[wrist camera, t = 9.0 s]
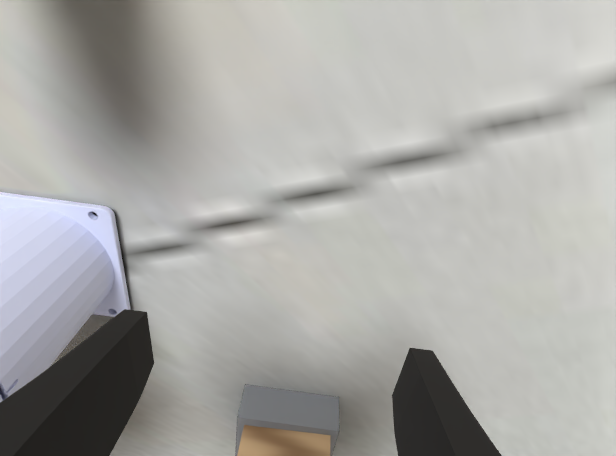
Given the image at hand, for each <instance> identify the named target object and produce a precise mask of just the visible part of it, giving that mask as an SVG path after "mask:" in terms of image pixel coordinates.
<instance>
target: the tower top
mask: <svg viewBox="0 0 616 456" xmlns="http://www.w3.org/2000/svg"><path fill="white" fill-rule="evenodd" d="M237 456H330V435H324V434H316V433H308V432H299V431H291V430H283V429H274V428H266V427H257V426H249V425H244V427H243V432H242V436H241V441H240V445H239V450H238V454H237Z"/></svg>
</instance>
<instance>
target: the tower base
mask: <svg viewBox="0 0 616 456" xmlns="http://www.w3.org/2000/svg"><path fill="white" fill-rule="evenodd" d="M244 425H249V426H257V427H266V428H274V429H283V430H291V431H299V432H308V433H316V434H324V435H330V456H332V454H333V451H334V447H335V444H336V440H337V437H338V433H339V397H334V396H327V395H320V394H312V393H305V392H298V391H290V390H283V389H276V388H268V387H261V386H254V385H246V384H245V387H244V391H243V395H242V400H241V404H240V408H239V412H238V416H237V432H236V453H235V456H237V454H238V450H239V445H240V441H241V436H242V432H243V427H244Z"/></svg>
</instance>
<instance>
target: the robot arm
mask: <svg viewBox="0 0 616 456" xmlns="http://www.w3.org/2000/svg"><path fill="white" fill-rule="evenodd" d="M92 211H93V212H95V213H96V214H97V215H98V216H95V215H94V214H93V212H92ZM92 314H95V315H103V316H111V317H114V318H112V319H111V320H110V321H109V322H107V323H106V324H105V325H103V326H102V327H101V328H100V329H98V330H97V331H96V332H95V333H93V334H92V335H91V336H90V337H88V338H87V339H86V340H84V341H83V342H82V343H81V344H79V345H78V346H77V347H76V348H74V349H73V350H72V351H70V352H69V353H68V354H66V355H65V356H64V357H62V358H61V359H60V360H58V361H57V362H56V363H55V364H53V365H52V363H53V362H54V361H55V360H56V358H57V357H58V356H59V355H60V354H61V352H62V351H63V350H64V349H65V347H66V346H67V345H68V344H69V342H70V341H71V340H72V339H73V337H74V336H75V335H76V334H77V332H78V331H79V330H80V329H81V327H82V326H83V325H84V324H85V322H86V321H87V320H88V319H89V318H90V316H91V315H92ZM153 364H154V360H153V353H152V346H151V339H150V332H149V325H148V318H147V312H141V311H134V310H131V308H130V302H129V296H128V291H127V285H126V279H125V273H124V267H123V261H122V255H121V249H120V243H119V237H118V232H117V226H116V220H115V215H114V212H113V211H112V210H111V209H110V208H109V207H106V206H102V205H94V204H87V203H79V202H72V201H64V200H56V199H49V198H41V197H34V196H26V195H19V194H11V193H4V192H0V456H109V455H110V453H111V451H112V450H113V448H114V446H115V444H116V442H117V440H118V439H119V437H120V435H121V433H122V431H123V429H124V427H125V426H126V424H127V422H128V420H129V418H130V416H131V414H132V413H133V411H134V409H135V407H136V405H137V403H138V401H139V399H140V397H141V394H142V392H143V389H144V387H145V385H146V382H147V380H148V377H149V374H150V372H151V369H152V367H153ZM51 365H52V366H51ZM50 366H51V367H50ZM392 398H393V417H394V430H395V439H396V445H397V451H398V456H501V454H500V453H499V451H498V450H497V449H496V447H495V446H494V444H493V443H492V442H491V440H490V439H489V437H488V436H487V434H486V433H485V431H484V430H483V428H482V427H481V426H480V424H479V423H478V421H477V420H476V418H475V417H474V415H473V414H472V412H471V411H470V409H469V408H468V406H467V405H466V403H465V402H464V400H463V398H462V397H461V395H460V394H459V392H458V391H457V389H456V387H455V386H454V384H453V383H452V381H451V380H450V378H449V376H448V375H447V373H446V371H445V370H444V368H443V367H442V365H441V363H440V362H439V360H438V359H437V357H436V355H435V354H434V352H433V351H430V350H423V349H415V348H410V349H409V352H408V354H407V357H406V360H405V362H404V365H403V368H402V371H401V373H400V376H399V379H398V381H397V384H396V387H395V389H394V392H393V395H392Z"/></svg>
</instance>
